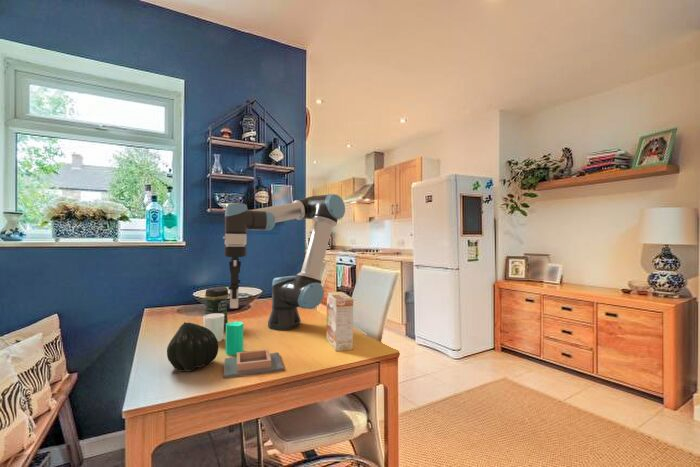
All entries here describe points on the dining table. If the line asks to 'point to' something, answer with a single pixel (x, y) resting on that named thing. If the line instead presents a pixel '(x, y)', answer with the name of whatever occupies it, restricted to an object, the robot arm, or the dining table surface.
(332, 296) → the coffeecake box
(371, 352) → the dining table surface
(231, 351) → the candle
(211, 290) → the coffee jar
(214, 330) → the white cup
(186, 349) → the squash
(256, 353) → the candle plate
